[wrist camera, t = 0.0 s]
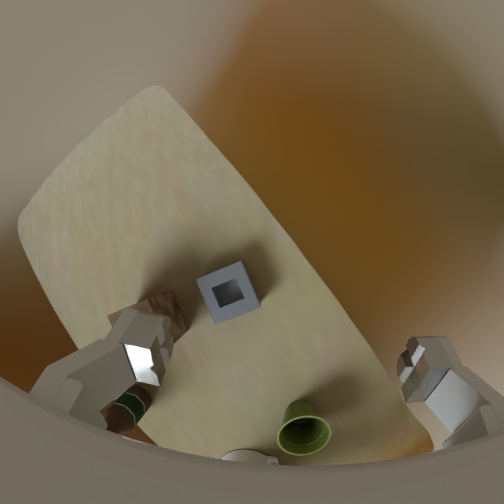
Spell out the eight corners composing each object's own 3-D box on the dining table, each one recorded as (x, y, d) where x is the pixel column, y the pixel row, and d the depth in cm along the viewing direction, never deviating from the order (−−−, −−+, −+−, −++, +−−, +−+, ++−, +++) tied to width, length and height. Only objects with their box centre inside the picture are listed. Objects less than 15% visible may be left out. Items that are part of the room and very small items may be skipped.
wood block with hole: (188, 329, 64) (169, 348, 50) (153, 342, 64) (128, 361, 50) (171, 290, 64) (147, 298, 50) (136, 304, 65) (107, 315, 51)
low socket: (261, 301, 63) (260, 306, 57) (219, 318, 64) (215, 324, 58) (243, 260, 63) (241, 260, 57) (202, 277, 64) (195, 279, 58)
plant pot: (271, 398, 63) (271, 422, 52) (319, 387, 62) (328, 409, 51) (280, 434, 63) (282, 460, 51) (326, 424, 62) (334, 448, 51)
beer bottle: (130, 379, 65) (82, 422, 41) (155, 395, 64) (115, 445, 40) (122, 399, 65) (77, 443, 41) (146, 414, 64) (107, 464, 40)
